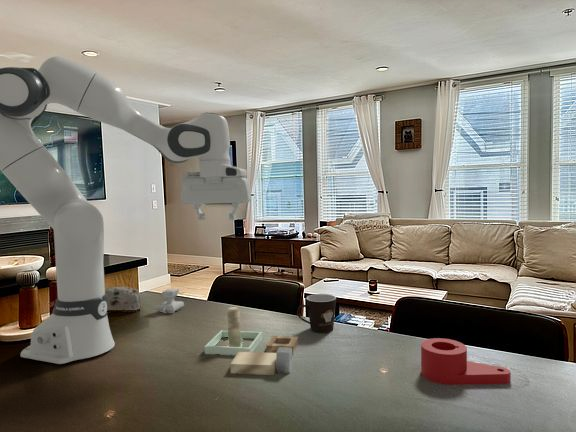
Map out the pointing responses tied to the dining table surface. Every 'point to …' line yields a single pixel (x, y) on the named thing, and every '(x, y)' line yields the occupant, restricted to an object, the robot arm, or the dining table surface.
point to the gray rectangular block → (284, 359)
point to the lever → (457, 365)
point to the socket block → (281, 343)
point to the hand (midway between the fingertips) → (217, 219)
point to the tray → (233, 351)
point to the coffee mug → (320, 312)
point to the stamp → (170, 301)
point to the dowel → (234, 327)
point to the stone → (122, 298)
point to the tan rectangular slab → (254, 363)
